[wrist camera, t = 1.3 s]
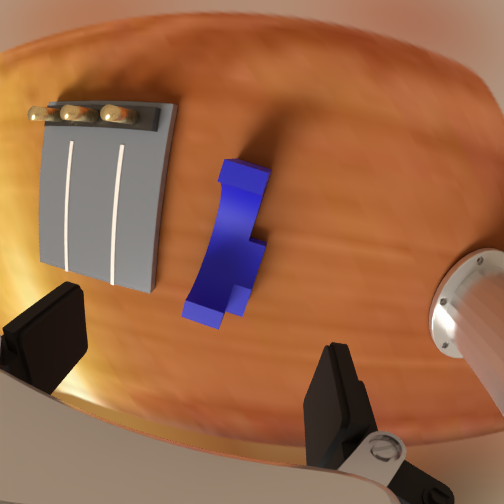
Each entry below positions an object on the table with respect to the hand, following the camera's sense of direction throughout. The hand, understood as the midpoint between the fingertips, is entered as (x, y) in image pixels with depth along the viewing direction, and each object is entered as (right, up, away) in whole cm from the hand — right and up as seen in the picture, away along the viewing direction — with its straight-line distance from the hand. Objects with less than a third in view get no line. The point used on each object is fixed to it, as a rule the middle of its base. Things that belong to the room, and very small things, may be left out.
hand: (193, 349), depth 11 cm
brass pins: (-11, +15, +13) cm, 23 cm away
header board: (-13, +9, +16) cm, 22 cm away
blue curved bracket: (+1, +5, +16) cm, 17 cm away
